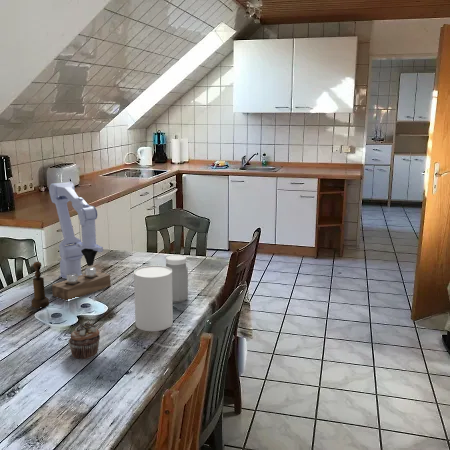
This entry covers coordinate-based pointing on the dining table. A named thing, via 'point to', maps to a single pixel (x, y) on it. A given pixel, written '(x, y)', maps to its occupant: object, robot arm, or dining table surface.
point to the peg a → (72, 279)
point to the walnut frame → (81, 286)
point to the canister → (153, 298)
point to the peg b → (90, 272)
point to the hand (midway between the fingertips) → (90, 265)
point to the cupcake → (84, 341)
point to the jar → (178, 277)
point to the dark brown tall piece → (39, 289)
